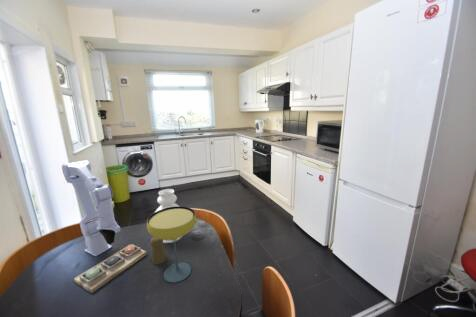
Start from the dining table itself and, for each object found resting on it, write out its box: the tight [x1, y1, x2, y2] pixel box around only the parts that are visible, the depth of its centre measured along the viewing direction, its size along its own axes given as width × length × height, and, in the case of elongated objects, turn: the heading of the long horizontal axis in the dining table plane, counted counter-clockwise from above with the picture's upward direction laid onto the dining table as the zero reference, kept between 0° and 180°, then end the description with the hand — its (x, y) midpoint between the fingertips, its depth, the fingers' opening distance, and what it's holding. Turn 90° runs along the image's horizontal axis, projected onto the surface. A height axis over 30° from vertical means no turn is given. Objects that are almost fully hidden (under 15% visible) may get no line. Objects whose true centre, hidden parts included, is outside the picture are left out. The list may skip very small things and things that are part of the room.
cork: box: [150, 236, 167, 265], centre depth 92 cm, size 6×6×11 cm
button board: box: [73, 243, 148, 294], centre depth 90 cm, size 12×24×3 cm, turn 152°
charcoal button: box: [106, 255, 119, 267], centre depth 89 cm, size 4×4×2 cm
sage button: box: [86, 268, 100, 280], centre depth 83 cm, size 4×4×2 cm
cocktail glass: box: [146, 205, 197, 284], centre depth 83 cm, size 18×18×25 cm
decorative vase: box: [154, 188, 183, 244], centre depth 109 cm, size 18×18×25 cm
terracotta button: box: [124, 245, 136, 255], centre depth 96 cm, size 4×4×2 cm
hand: (110, 242), depth 91 cm, fingers closed
